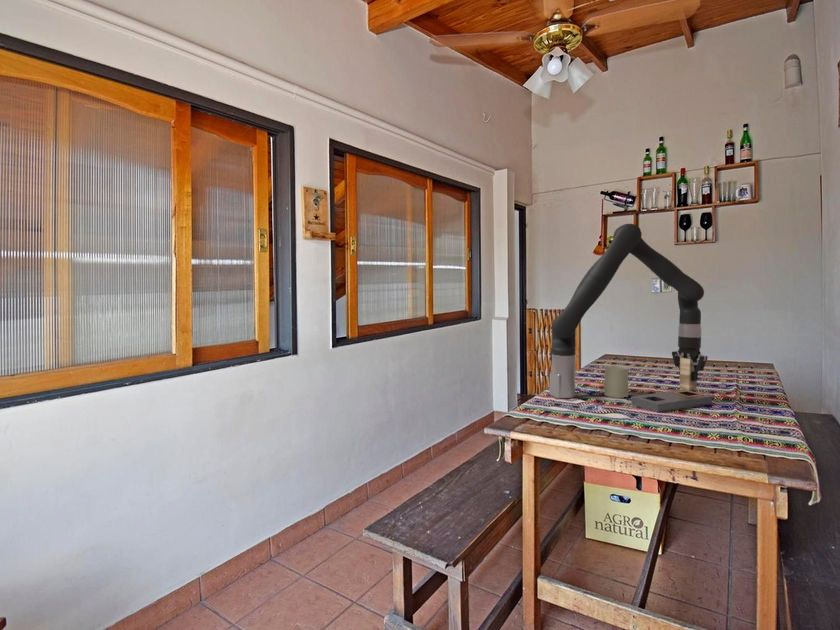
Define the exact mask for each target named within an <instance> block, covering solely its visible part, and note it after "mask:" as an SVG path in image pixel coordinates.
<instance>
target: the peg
mask: <svg viewBox="0 0 840 630" xmlns="http://www.w3.org/2000/svg"><path fill="white" fill-rule="evenodd" d="M693 363H696V361H695V362H693ZM694 366H695V365H694ZM691 371H692V370H691V365H690V359H686V358H680V369H679V390H687V391H692V392H693V391H697V390H698V389H697V388H698V379H697V380H696V381H691Z"/></svg>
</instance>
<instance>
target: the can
mask: <svg viewBox="0 0 840 630" xmlns="http://www.w3.org/2000/svg"><path fill="white" fill-rule="evenodd" d="M603 367H604V386H603V387H604V389H603V390H604V392H603V395H604V396H606V397H608V398H614V399H615V398H616V399H625V398H624V397H626V398H628V397H629V367H627V366H624V365H605V366H603Z"/></svg>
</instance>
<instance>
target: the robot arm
mask: <svg viewBox="0 0 840 630" xmlns="http://www.w3.org/2000/svg"><path fill="white" fill-rule="evenodd" d="M612 237H613V239H612V240H611V242H610V244H609V246H608V248H607V249H606V250H605V251H604V253H603V254H602V255H601V256H600V257H599V258H598V259H597V261H596V262H594V263H593V265H591V267H590V268H589V269H588V270H587V272H586V274H585V275H584V276H583V278H582V279H581V281H580V283H578V286H577V287H576V289H575V291H574V293H573V295H572V297H571V299H570V301H569V302H568V304H567V305H566V306H565V308H564V309H563V310H562V312H561V313H560V314H559V315H557V316H556V317H555V318H554V319H553V320H552V323H551V371H550V372H549V394H548V395H549V396H552V397H555V398H556V399H572V398H575V397H576V329H577V328H578V326H579V324H580V322H581V320H583V319H582V318H584V316H585V314H586V313H587V312H588V311H589V309H590V308H591V307H592V306H593V305H594V304H595V302H596V301H597V300H598V299H599V298H600V297H601V295H602V294H603V293H604V292H605V290H606V289H607V287H608V286H609V284H610V283H611V281H612V279H613V278H614V277H615V275H616V273H617V271H618V270H619V268H620V266H621V265H622V263H623V261H625V259H626V258H627V257H628V256H629V254H630V255H632V256H633V257H635V258H636V259H638V261H640V262H641V263H642V264H644V265H645V266H646V267H647V268H648V269H649V270H650V271H651V272H652V273H653V274H655V276H657V277H658V278H659V279H660V280H661V281H662V282H663V283H665V284H666V285H668V286H669V287H671V288H672V289H673V288H674V290H676V291H677V302H678V308H679V318H678V319H679V323H678V333H677V334H678V335H677V336H678V338H677V346H678V350H675V351H671V357H672V359H673V363H674V366H675V367H677V368H678V369H679V370H680V358H686V359H690V365H691V370H692V371H691V381H696V380H697V381H698V379H699V378H698V377H699V376H698V375H699V372H701V371H703V370H704V369H705V367H706V363H707V362H708V361H707V360H708V355H704V354H702V353H701V347H702V326H701V325H702V324H701V322H702V311H701V310H700V308H699V301H701V300H702V298H703V297H704V295H705V290H704V287H703V286H702V285H701V284H700V282H698V281H697V280H695V279H694V278H693V277H690V276H689V275H688V274H686V273H685V272H683V271H682V270H681V269H680V267H678V266H677V265H676V264H675V263H673V262H672V261H671V260H670V259H668V258H667V257H665V256H664V255H662V254H661V253H659V252H658V251H657V250H655V249H654V248H652V246H650V245H649V244H648V243H647V242H646V241H645V240H644V239H643V237H642V231H641V228H640V226H638V225H637V224H635V223H625V224H623V225H620V226H618V227H617V228H616V229H615V230H614V233H613V236H612ZM695 361H696V363H693V362H695ZM694 365H695V366H694Z"/></svg>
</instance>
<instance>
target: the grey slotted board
mask: <svg viewBox="0 0 840 630" xmlns="http://www.w3.org/2000/svg"><path fill="white" fill-rule="evenodd" d="M630 397H631V399H630V400H631V401H630V402H631V403H630V404H631V406H636V407H638V408H642V409H644V410H645V409H646V410H648V411H651V412H655V413H656V414H658V413H664V412H671V411H676V410H682V409H683V410H684V409H690V408H691V409H692V408H696V407H702V406H703V407H704V406H710V405H712V404H713V396H712V395H709V394H704V393H700V392H695V391H693V390H692V391H687V390H683V389H677V390H670V391H663V392H655V393H648V394H642V395H640V394H639V395H633V396H630Z"/></svg>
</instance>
